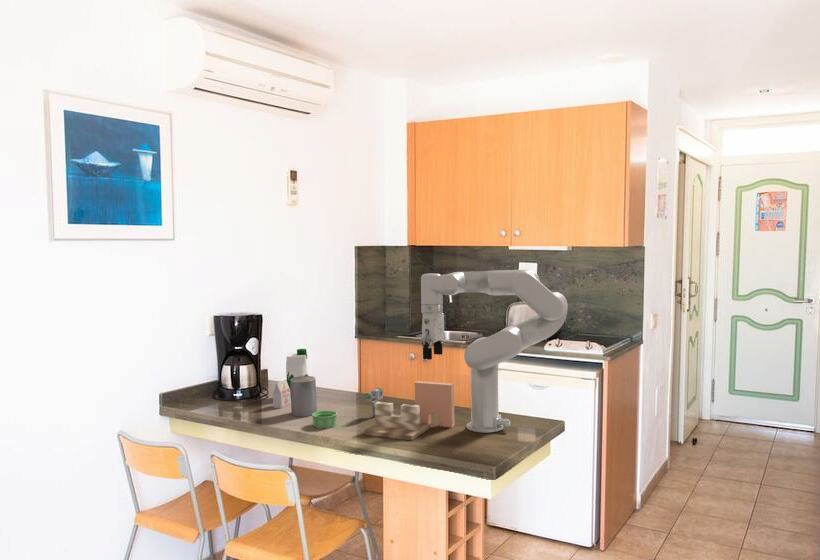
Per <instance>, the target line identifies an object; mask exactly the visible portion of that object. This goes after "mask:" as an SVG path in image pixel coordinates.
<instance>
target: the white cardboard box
mask: <svg viewBox="0 0 820 560" xmlns="http://www.w3.org/2000/svg"><path fill="white" fill-rule="evenodd" d="M272 401H273V402H272V406H273V407H274V409H283V407H284V408H286V407H288V406H290V404H291V396H290V388H289V386H288V383H287V379H284V380H282V381H279V382H276V383H275V386H274V389H273V392H272ZM285 406H286V407H285Z"/></svg>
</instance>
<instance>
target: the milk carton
mask: <svg viewBox="0 0 820 560" xmlns="http://www.w3.org/2000/svg"><path fill="white" fill-rule="evenodd" d="M308 361H309V360H308V353H307V349H306V348H297V349H296V352H294V353H288V354H287V355H286V363H285V364H286V365H285V368H286V369H285V370H286V371H285V372H286V373H285V374H286V376H285V377H286V380H287V383H288V386H289V388H290V396H291V387H290V379H291V378H294V377H299V376H309V365H308V364H309V362H308Z"/></svg>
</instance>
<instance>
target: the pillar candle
mask: <svg viewBox="0 0 820 560" xmlns="http://www.w3.org/2000/svg"><path fill="white" fill-rule="evenodd" d="M290 387H291V406H290V407H291V416H292V417H296V416H297V418H305V417H312V414H313V413H315V412H318V406H317V385H316V377H315V376H313V375H312V376H311V375H308V376H299V377H294V378H291V379H290Z"/></svg>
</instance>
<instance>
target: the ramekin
mask: <svg viewBox="0 0 820 560" xmlns="http://www.w3.org/2000/svg"><path fill="white" fill-rule="evenodd" d="M337 416H338V412H337V411H334V410H319V411H318V410H317V412H315V413H313V414H312V416H311V417H312V424H313V427H314V428H317V429H330V427H331V428H334V427H335V426H337Z"/></svg>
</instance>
